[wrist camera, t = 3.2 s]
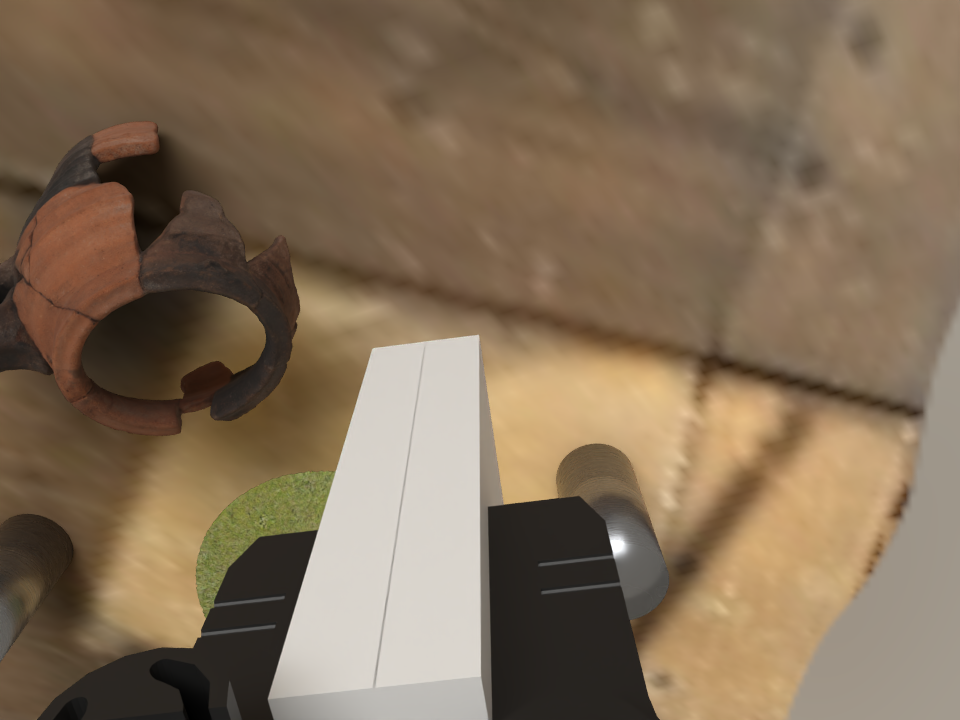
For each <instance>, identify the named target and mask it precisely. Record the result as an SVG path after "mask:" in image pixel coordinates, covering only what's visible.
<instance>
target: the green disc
mask: <svg viewBox="0 0 960 720" xmlns="http://www.w3.org/2000/svg"><path fill="white" fill-rule="evenodd" d="M335 473H336V471H335V472H331V471H326V472H323V471H319V472H313V471H312V472H311V473H310V472H309V471H307V472H305V473H297V474H294V475H293V474H289V475H285V476H282V477H280V478H274V479H271V480H269V481H267V482H265V483H263V484H260V485H259V486H257V487H255V488H252V489H250V490H249V491H248V492H246V493H245V494H243V495H241V496H239V497H238V498H237V499H235V500H234V501H233V502H232V503H231V504H230V505H229V506H228V507H227V508H226V509H224V510H223V512H222V513H221V514H220V515H219V516H218V518H217V519H216V520H215V521H214V522H213V524H212V526H211V527H210V529H209V530H208V531H207V533H206V536H205V537H204V541H203V543H202V545H201V548H200V553H199V555H198V559H197V564H198V565H197V567H196V584H197V585H198V586H197V587H196V588H197V593H198V598H199V602H200V605H201V607H202V608H203V613H204V614H205V615H204V616H205V618H207V615H208V613H209V611H210V609H211V608H214V599H215V597H216V595H217V593H218V590H219V588H220V586H221V583H222V581H223V579H224V577H225V574H226V572H227V570H228V568H229V567H230V566H231V565H232V564H233V563H234V562H235V561H236V560H237V559H238V558H239V557H240V556H241V555H242V554H243V553H244V552H245V551H246V550H247V549H248V548H249V547H250V546H251V545H252V544H253V543H254V542H255V541H256V540H257V539H258V538H259V537H262V536H270V535H279V534H287V533H296V532H304V531H313V530H319V526H320V523H321V520H322V516H323V513H324V509H325V506H326V503H327V499H328V496H329V493H330V489H331V486H332V483H333V479H334V476H335Z"/></svg>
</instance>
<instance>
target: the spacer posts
mask: <svg viewBox="0 0 960 720" xmlns="http://www.w3.org/2000/svg"><path fill="white" fill-rule="evenodd" d="M556 483H557V488H558V494H559V498H566V497H574V496H580V497H581V498H582V499H583V500H584V501H585V502H586V503H587V504H588V505H589V506H590V507H592V508H593V509H594V510H595V511H596V512H597V513H598V514H599V515H600V516H601V517H602V518H603V519H604V520H605V522H606V526H607V530H608V534H609V538H610V542H611V546H612V550H613V556H614V559H615V562H616V567H617V571H618V575H619V579H620V585H621V587H622V591H623V595H624V599H625V603H626V607H627V611H628V615H629V619H630V620H632V619H636V618H639V617H641V616H643V615H645V614H647V613H649V612H650V611H652V610H653V609H654V608H656V607H657V606H658V605H659V603H660V602H661V601H662V600H663V598H664V596H665V595H666V592H667V589H668V585H669V574H668V570H667V567H666V564H665V561H664V558H663V556H662V553H661V550H660V547H659V544H658V541H657V538H656V535H655V532H654V529H653V526H652V524H651V521H650V518H649V515H648V512H647V509H646V506H645V503H644V500H643V497H642V494H641V491H640V489H639V486H638V483H637V480H636V477H635V474H634V471H633V468H632V465H631V463H630V461H629V459H628V458H627V457H626V456H625V455H624V454H623V453H622V452H621V451H620V450H618V449H616V448H614V447H612V446H609V445H604V444H590V445H585V446H582V447H579V448H577V449H575V450H574V451H572V452H571V453H569V454H568V455H567V456H566V457H565V458H564V460H563V461H562V462H561V464H560V466H559V468H558V471H557V476H556ZM72 555H73V548H72V543H71V541H70V538H69V537H68V535H67V534H66V532H65V531H64V530H63V529H62V528H61V527H60V526H59V525H57V524H56V523H55V522H53V521H51V520H49V519H47V518H45V517H42V516H38V515H32V514H23V515H17V516H14V517H11V518H9V519H8V520H6V521H5V522H4V523H3V524H2V525H1V526H0V662H1V660H2V659H3V657H4V656H5V655H6V653H7V652H8V650H9V649H10V647H11V646H12V645H13V643H14V642H15V640H16V639H17V638H18V636H19V635H20V633H21V632H22V630H23V629H24V628H25V626H26V625H27V623H28V622H29V621H30V619H31V618H32V616H33V615H34V613H35V612H36V611H37V609H38V608H39V606H40V605H41V604H42V602H43V601H44V599H45V598H46V596H47V595H48V594H49V592H50V591H51V589H52V588H53V586H54V585H55V584H56V582H57V581H58V579H59V578H60V577H61V575H62V574H63V572H64V571H65V569H66V568H67V567H68V565H69V564H70V562H71V559H72Z"/></svg>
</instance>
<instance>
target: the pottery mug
mask: <svg viewBox="0 0 960 720" xmlns="http://www.w3.org/2000/svg"><path fill="white" fill-rule="evenodd" d="M157 132H158V126H157V124H156V123H153V122H151V121H143V122H129V123H124V124H120V125H115V126H112V127H109V128H107V129H104V130H102V131H99V132H97V133H96V134H94V135H91V136H88V137H86V138H85V139H83V140H82V141H80V142H79V143H78V144H77V145H75V146H74V147H73V148H72V149H71V150H70V151H68V153H67V154H66V155H65V156H64V157H63V159H62V160H61V162H60V163H59V164H58V166H57V168H56V170H55V172H54V174H53V176H52V178H51V180H50V182H49V184H48V186H47V187H46V189H45V191H44V193H43V195H42V196H41V197H40V199H39V200H38V202H37V203H36V205H35V207H34V209H33V211H32V213H31V214H30V216H29V217H28V219H27V221H26V223H25V225H24V227H23V229H22V231H21V234H20V237H19V240H18V244H17V248H16V251H15V255H14V256H12V257H11V258H9V259H8V260H6V261H5V262H3V263H1V264H0V372H3V371H6V370H17V369H27V370H33V371H37V372H40V373H43V374H45V375H51V374H53V373H54V375H55V379H56V383H57V385H58V387H59V389H60V390H61V392H62V394H63V395H64V397H65V398H66V400H67V401H69V402H70V403H72V405H73V406H74V407H75V408H77V409H78V410H79V411H81V413H83V414H84V415H86V416H88V417H90V418H91V419H93V420H95V421H97V422H98V423H101V424H103V425H105V426H108V427H110V428H113V429H115V430H122V431H126V432H128V433H134V434H140V435H155V436H167V435H175V434H179V433H180V432H181V426H182V420H181V414H183V413H188V412H194V411H198V410H202V409H205V408H207V407H210V406H211V410H210V415H211V417H212V418H213V419H214V420H223V421H232V420H234V419H237V418H239V417H240V416H242V415H243V414H245V413H247V412H249V411H250V410H251V409H253V408H254V407H256V406H257V404H259V403H260V402H261V401H262V400H264V399H265V398H266V397H267V396H268V395H269V394H270V393H271V392H272V391H273V390H274V389H275V388H276V386H277V385H278V384H279V382H280V380H281V378H282V377H283V375H284V372H285V370H286V368H287V362H288V361H289V359H290V354H291V351H292V339H293V336H294V334H295V332H296V329H297V323H296V320H297V318H298V315H299V313H300V302H299V297H298V294H297V289H296V287H295V284H294V279H293V274H292V268H291V264H290V254H289V250H288V246H287V243H286V240H285V237H284V236H282V235H280V236H278V237H277V238H276V239H275V240H274V242H273V244H272V245H271V246H270V247H269V249H267V250H266V251H263V252H262V253H261V254H259V255H258V256H256V257H254V258H253V259H252V260H250V261H248V262H246V259H245V245H244V242H243V241H242V239H241V236H240V234H239V232H238V230H237V229H236V228H235V226H234V225H233V224H232V223H231V222H230V221H229V220H228V219H227V218H226V217H225V215H224V212H223V209H222V206H221V204H220V203H219V202H218V201H217V200H216V199H215V198H213V197H210V196H208V195H205V194H202V193H200V192H197V191H193V190H187V191H185V192H184V193H183V194H182V198H181V205H180V214H179V215H177V216H176V217H175V218H174V219H173V220H171V221H170V222H169V224H168V225H167V227H166V228H165V230H164V231H163V233H162V234H161V235H160V236H159V237H158V238H157V239H156V240H155V241H154V242H153V243H152V244H151V245H150V246H149V247H148V248H147V249H146V250H145V251H141V249H140V247H139V243H138V239H137V234H136V230H135V224H134V206H135V203H134V198H133V195H132V194H131V193H129V192H128V190H127V189H126V187H125V186H123V185H121V184H119V183H117V182H109V183H103V184H100V178H99V176H98V174H97V172H96V171H97V169H98V167H99V165H100V164H101V163H105V162H109V161H113V160H116V159H121V158H126V157H133V156H140V155H150V154H155V153H157V152H158V151H159V148H160V147H159V137H158V135H157ZM176 290H197V291H203V292H208V293H213V294H219V295H222V296H225V297H228V298H231V299H233V300H235V301H237V302H239V303H241V304H243V305H246V306H247V307H248V308H249V309H250V310H251V311H252V312H253V313H254V314H255V315H256V316H257V317H258V319H259V321H260V322H261V323H262V324H263V326H264V328H265V333H266V344H265V348H264V350H263V352H262V354H261V356H260V358H259V360H258V361H257V362H256V363H255V364H254V365H252V366H250V367H248V368H246V369H245V370H242V371H239V372H237V373H236V374H233V373H232V372H231V371H230V370H229V369H228V368H227V367H225V366H224V365H223V364H222V363H221V362H219V361H216V362H210V363H208V364H206V365H204V366H202V367H199V368H197V369H196V370H194V371H192V372H190V373H188V374H187V375H185V376H184V377H183V378H182V379H181V390H182V391H183V393H184V397H183V399H174V400H143V399H136V398H129V397H124V396H120V395H117V394H114V393H111V392H109V391H107V390H105V389H103V388H101V387H99V386H98V385H97V384H96V383H94V381H92V379H90V378H89V377H88V376H87V375H86V373H85V372H84V369H83V366H82V362H81V354H82V349H83V346H84V344H85V341H86V339H87V337H88V336H89V334H90V333H91V331H92V330H93V329H94V328H95V326H96V325H97V324H98V323H99V321H100V320H102V319H104V318H105V317H106V316H107V315H109V314H110V313H111V312H113V311H114V310H116V309H118V308H120V307H121V306H123V305H125V304H127V303H130V302H132V301H134V300H136V299H139V298H141V297H143V296H145V295H146V294H148V293H158V292H166V291H176Z"/></svg>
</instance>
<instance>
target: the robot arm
mask: <svg viewBox="0 0 960 720" xmlns="http://www.w3.org/2000/svg"><path fill="white" fill-rule="evenodd" d="M37 720H660V719H659V718H658V717H657V716H656V713H655V711H654V708H653V706H652V704H651V701H650V699H649V696H648V693H647V689H646V685H645V680H644V676H643V672H642V668H641V664H640V660H639V656H638V652H637V648H636V644H635V640H634V636H633V632H632V628H631V624H630V619H629V615H628V611H627V607H626V603H625V599H624V595H623V591H622V587H621V585H620V579H619V575H618V571H617V567H616V562H615V559H614V556H613V550H612V546H611V542H610V538H609V534H608V530H607V526H606V522H605V520H604V519H603V518H602V517H601V516H600V515H599V514H598V513H597V512H596V511H595V510H594V509H593V508H592V507H590V506H589V505H588V504H587V503H586V502H585V501H584V500H583V499H582V498H581V497H580V496H574V497H566V498H557V499H549V500H540V501H532V502H523V503H515V504H506V505H503V497H502V490H501V483H500V476H499V469H498V462H497V455H496V449H495V442H494V435H493V428H492V421H491V414H490V407H489V400H488V393H487V386H486V380H485V373H484V366H483V359H482V352H481V345H480V338H479V335H474V336H466V337H458V338H450V339H442V340H434V341H426V342H419V343H411V344H403V345H395V346H387V347H379V348H373V349H372V352H371V356H370V359H369V362H368V366H367V369H366V372H365V376H364V379H363V382H362V386H361V389H360V392H359V396H358V399H357V402H356V406H355V409H354V413H353V416H352V419H351V423H350V426H349V429H348V433H347V436H346V439H345V443H344V446H343V449H342V453H341V456H340V459H339V463H338V466H337V469H336V473H335V476H334V479H333V483H332V486H331V489H330V493H329V496H328V499H327V503H326V506H325V509H324V513H323V516H322V520H321V523H320V526H319V530H313V531H304V532H296V533H287V534H279V535H270V536H262V537H259V538H258V539H257V540H256V541H255V542H254V543H253V544H252V545H251V546H250V547H249V548H248V549H247V550H246V551H245V552H244V553H243V554H242V555H241V556H240V557H239V558H238V559H237V560H236V561H235V562H234V563H233V564H232V565H231V566H230V567H229V568H228V570H227V572H226V574H225V577H224V579H223V581H222V583H221V586H220V588H219V590H218V593H217V595H216V597H215V599H214V608H211V609H210V611H209V613H208V615H207V618H206V620H205V622H204V625H203V627H202V629H201V638H197V641H196V643H195V645H194V647H193V648H157V649H153V650H149V651H145V652H141V653H136V654H132V655H128V656H124V657H122V658H120V659H118V660H116V661H114V662H112V663H110V664H107V665H105V666H103V667H101V668H99V669H97V670H95V671H93V672H91V673H88V674H87V675H86V676H84V677H83V678H82V679H80V680H79V681H78V682H76V683H75V684H74V685H72V686H71V687H70V688H68V689H67V690H66V691H64V692H63V693H62V694H60V695H59V696H58V697H56V698H55V699H54V700H53V701H52V702H51V704H50V705H49V706H48V707H47V708H46V710H45V711H44V712H43V713H42V714H41V716H40V717H39V718H38V719H37Z"/></svg>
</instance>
